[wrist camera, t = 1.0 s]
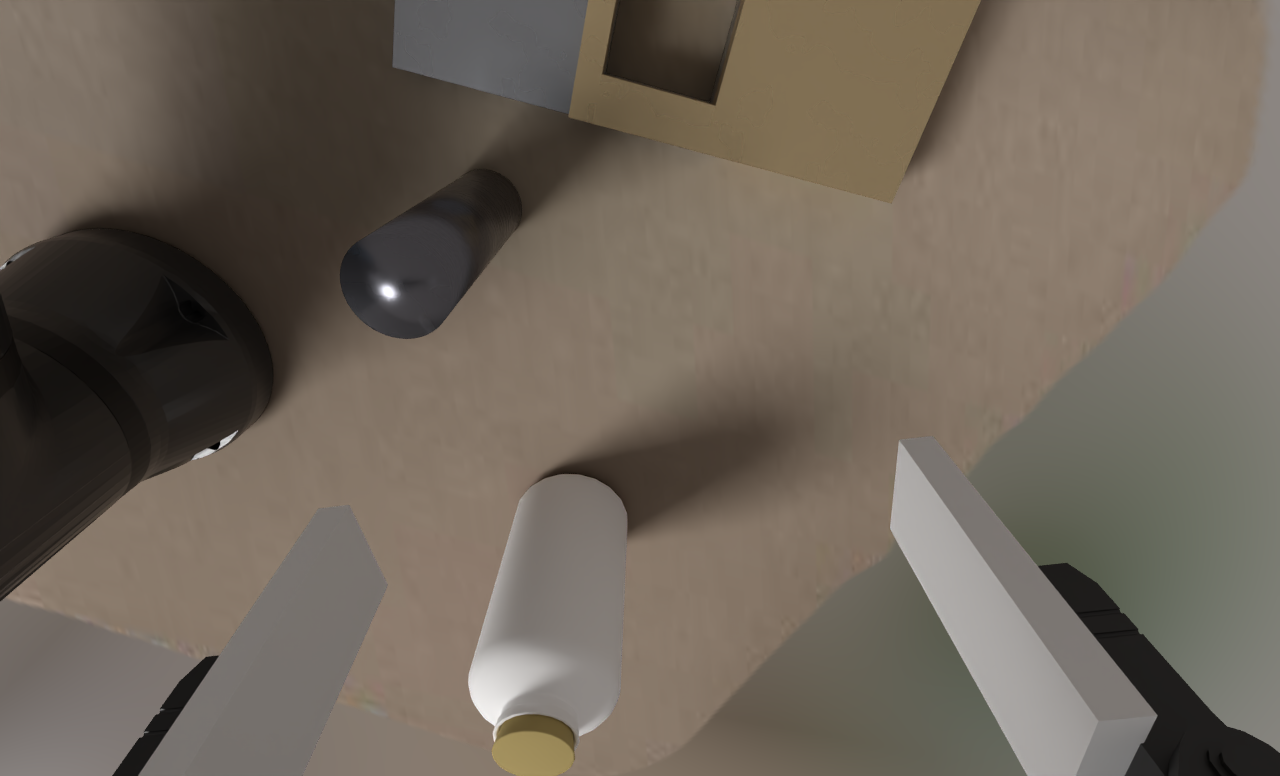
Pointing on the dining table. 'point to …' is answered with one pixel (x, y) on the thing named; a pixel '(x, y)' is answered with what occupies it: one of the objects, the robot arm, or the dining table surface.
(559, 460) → the dining table surface
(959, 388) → the dining table surface
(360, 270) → the pin
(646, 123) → the tan holed block
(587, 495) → the potion bottle
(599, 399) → the dining table surface
